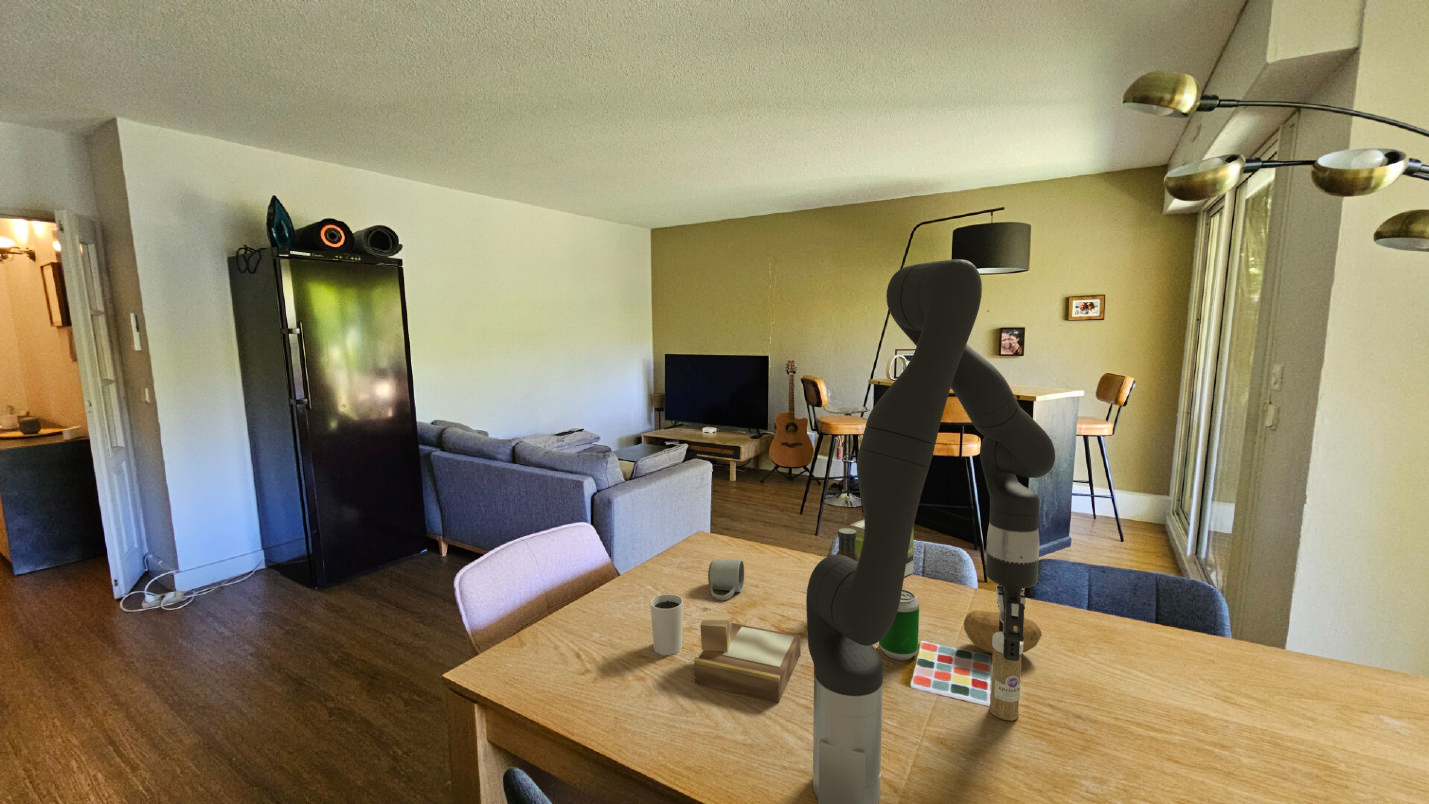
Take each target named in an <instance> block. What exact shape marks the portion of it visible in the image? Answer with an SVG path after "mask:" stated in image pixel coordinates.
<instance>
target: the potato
mask: <svg viewBox="0 0 1429 804" xmlns="http://www.w3.org/2000/svg"><path fill="white" fill-rule="evenodd" d="M963 629H964V632H965V634H966V635H967V638H968V639H969V640H970V642H972V643H973V645H975V647H977V648H979V649H980V650H982V651H983V652H986V653H989V654H991V655H993V646H992V639H993V634H994V633H996V632H1000V631H999V611H991V610H990V611H989V610H978V609H976V610H972V611H970V612H969V613H967V614H966V615H965V618H964V620H963ZM1014 631H1017V626H1014ZM1042 635H1043V634H1042V631H1041V629H1040V627H1039V626H1038V624H1037V623H1036V622H1035V621H1034V620H1032V619H1029V618H1027V617H1024V625H1023V636H1024V640H1023V653H1026V652H1028V651H1030V650H1031V649H1034V648H1035V647H1036V646H1037V645H1038V643H1039V641H1040V640H1041V638H1042ZM1023 653H1022V654H1023Z"/></svg>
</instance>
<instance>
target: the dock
mask: <svg viewBox="0 0 1429 804" xmlns="http://www.w3.org/2000/svg"><path fill="white" fill-rule="evenodd" d="M732 633H733V639H732V642H731V644H730V647H729V649H728V652H722V651H708V650H702V652H701V653H700V655H699V656H698V657H695V658H694V659H693V666H694V667H693V668H694V669H693V670H694V672H693V673H694V684H696V683H697V685H700V684H701V686H706V687H709V688H714V689H718V690H722V691H726V692H731V693H734V694H739V695H743V696H747V697H751V698H756V699H761V700H765V701H769V702H773V703H777V704H779V703H780V702H781V698H782V696H783V694H784V692H785V691H786V687H787V685H788V683H789V681H790V678H791V677H792V675H793V672H794V671H795V668H796V666H797V663H798V661H799V660H800V657H801V652H802V651H801V644H802V643H801V641H802V640H801V635H799V634H798V635H797V634H792V633H789V632H788V633H786V632H781V631H776V630H771V629H765V628H761V627H755V626H749V625H744V624H739V623H733V622H732Z"/></svg>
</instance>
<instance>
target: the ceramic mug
mask: <svg viewBox="0 0 1429 804" xmlns="http://www.w3.org/2000/svg"><path fill="white" fill-rule="evenodd" d="M707 580H708V585H709V587H710V593H711V596H712V598H714V599H715V600H717V601H727V600H729V599H731V598H732V597H733V596H734V594H735V593H741V592H742V591H743V589H744V585H745V564H744V561H743V560H742V559H715V560H712V561H711V562H710V564H709V566H708V571H707ZM714 590H715V591H717V590H718V591H726V592H727V593H726V594H724V595H723V594H722V595H718V594H716V593H715V592H714Z"/></svg>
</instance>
